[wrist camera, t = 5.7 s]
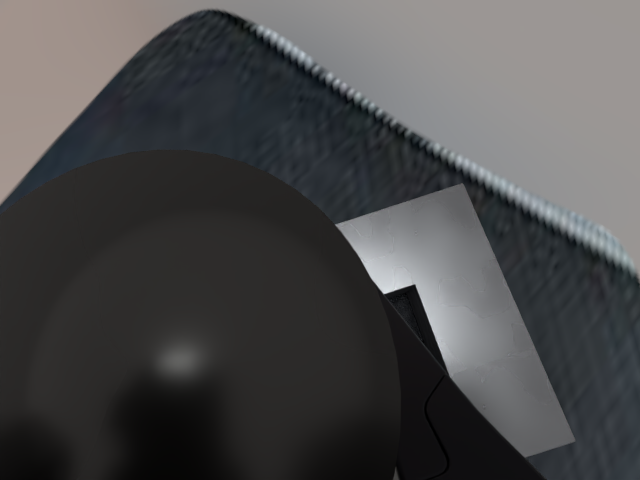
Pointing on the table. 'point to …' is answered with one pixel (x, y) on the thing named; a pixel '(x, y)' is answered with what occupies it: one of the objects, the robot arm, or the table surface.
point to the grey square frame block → (463, 311)
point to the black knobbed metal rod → (188, 330)
